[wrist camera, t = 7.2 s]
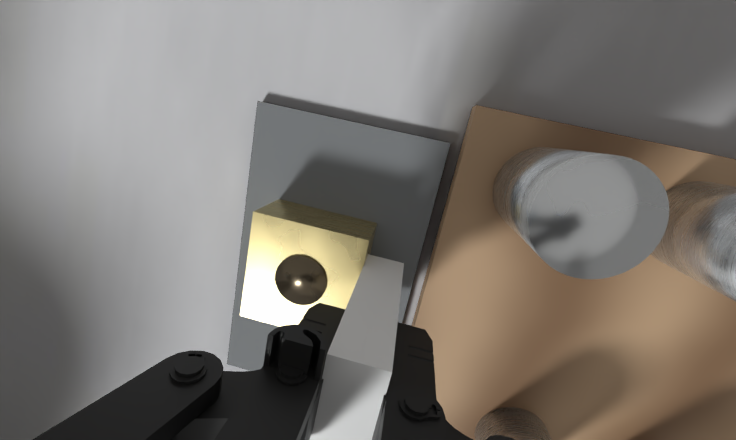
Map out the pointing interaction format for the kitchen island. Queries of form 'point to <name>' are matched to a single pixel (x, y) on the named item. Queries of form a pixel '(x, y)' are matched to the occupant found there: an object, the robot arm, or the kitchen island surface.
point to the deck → (572, 309)
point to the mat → (337, 193)
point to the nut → (302, 261)
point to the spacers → (609, 231)
